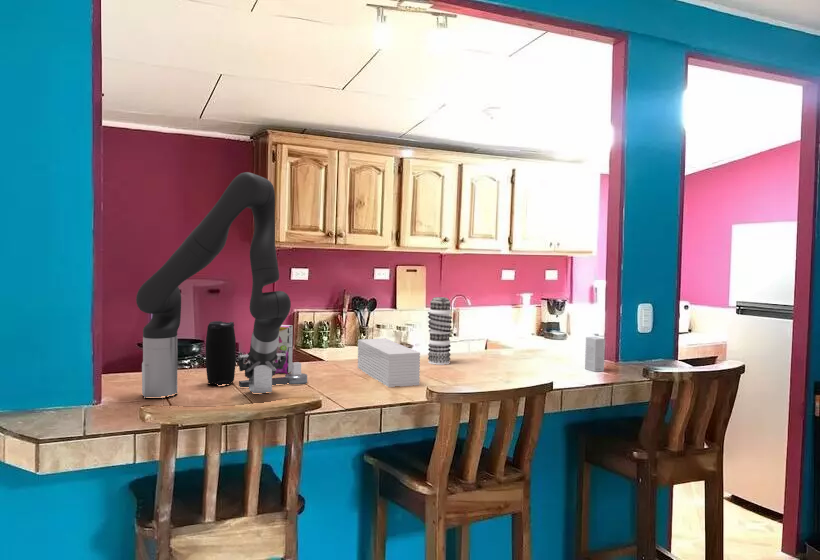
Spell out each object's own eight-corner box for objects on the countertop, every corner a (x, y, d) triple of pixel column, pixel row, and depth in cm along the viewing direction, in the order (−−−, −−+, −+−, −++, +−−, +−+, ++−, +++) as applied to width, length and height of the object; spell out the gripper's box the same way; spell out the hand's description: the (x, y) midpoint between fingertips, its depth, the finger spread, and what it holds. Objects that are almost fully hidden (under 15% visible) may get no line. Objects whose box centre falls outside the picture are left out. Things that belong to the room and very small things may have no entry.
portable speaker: (240, 382, 203) (241, 321, 202) (223, 388, 194) (223, 324, 193) (217, 379, 206) (218, 319, 205) (199, 385, 197) (200, 323, 196)
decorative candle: (423, 361, 246) (424, 296, 245) (446, 360, 249) (447, 296, 248) (431, 365, 238) (432, 298, 236) (454, 364, 240) (456, 298, 239)
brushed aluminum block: (253, 395, 186) (254, 357, 186) (248, 391, 191) (249, 354, 190) (271, 393, 189) (272, 356, 188) (266, 389, 194) (266, 353, 193)
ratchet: (243, 390, 192) (243, 369, 192) (237, 386, 198) (237, 365, 198) (310, 384, 203) (310, 363, 202) (302, 379, 209) (303, 360, 208)
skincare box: (604, 371, 232) (605, 338, 232) (594, 372, 231) (595, 339, 230) (593, 368, 238) (594, 336, 237) (584, 368, 236) (585, 336, 236)
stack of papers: (357, 369, 229) (358, 339, 229) (385, 367, 233) (385, 338, 233) (388, 388, 200) (388, 354, 199) (419, 385, 204) (420, 352, 203)
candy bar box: (256, 373, 218) (257, 325, 217) (261, 370, 223) (261, 323, 222) (288, 374, 217) (289, 326, 216) (292, 371, 222) (293, 324, 221)
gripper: (288, 330, 184) (282, 363, 196) (237, 332, 180) (234, 366, 191) (291, 352, 180) (284, 384, 191) (239, 354, 175) (235, 387, 187)
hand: (259, 375), depth 191 cm, fingers closed on brushed aluminum block, 6 cm apart
